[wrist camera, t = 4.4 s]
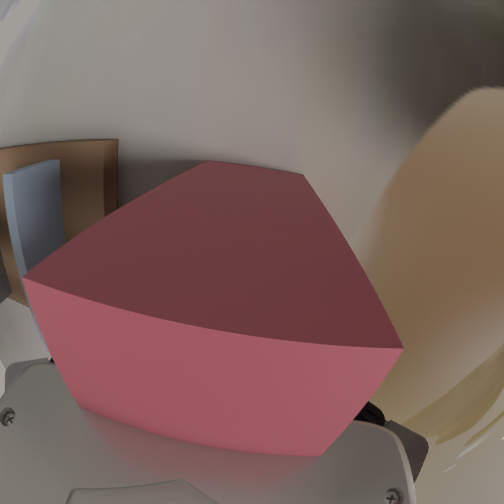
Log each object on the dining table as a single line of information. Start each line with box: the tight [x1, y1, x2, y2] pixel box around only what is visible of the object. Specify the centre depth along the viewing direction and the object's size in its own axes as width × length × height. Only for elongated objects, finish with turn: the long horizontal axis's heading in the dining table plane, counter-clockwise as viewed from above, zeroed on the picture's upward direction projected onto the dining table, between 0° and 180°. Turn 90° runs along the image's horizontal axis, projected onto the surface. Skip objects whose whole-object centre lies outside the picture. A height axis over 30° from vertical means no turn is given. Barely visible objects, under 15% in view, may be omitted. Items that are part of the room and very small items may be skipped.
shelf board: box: [0, 139, 118, 308], centre depth 16 cm, size 14×18×2 cm
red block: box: [22, 161, 404, 456], centre depth 11 cm, size 12×5×12 cm, turn 172°
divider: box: [3, 159, 66, 351], centre depth 13 cm, size 12×1×4 cm, turn 172°
